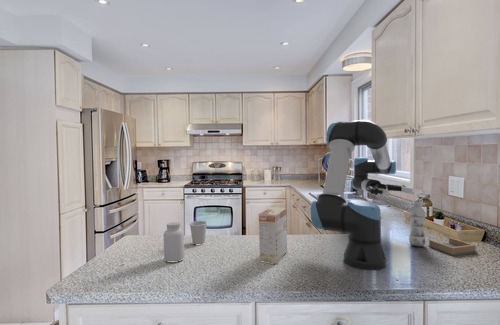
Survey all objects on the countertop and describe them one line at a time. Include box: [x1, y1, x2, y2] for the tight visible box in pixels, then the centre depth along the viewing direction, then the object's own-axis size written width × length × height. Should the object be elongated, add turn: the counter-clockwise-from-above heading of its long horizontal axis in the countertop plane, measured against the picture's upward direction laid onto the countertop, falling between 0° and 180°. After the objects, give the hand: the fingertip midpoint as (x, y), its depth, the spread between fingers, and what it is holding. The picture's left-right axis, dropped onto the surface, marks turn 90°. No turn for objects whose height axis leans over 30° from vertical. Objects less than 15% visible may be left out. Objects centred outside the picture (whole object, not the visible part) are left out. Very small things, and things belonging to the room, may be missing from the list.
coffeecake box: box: [258, 206, 288, 265], centre depth 114 cm, size 15×7×20 cm, turn 154°
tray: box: [428, 237, 478, 257], centre depth 119 cm, size 12×12×3 cm
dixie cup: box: [189, 220, 208, 245], centre depth 134 cm, size 8×8×10 cm
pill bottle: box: [163, 221, 185, 261], centre depth 113 cm, size 8×8×15 cm
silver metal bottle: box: [408, 200, 427, 247], centre depth 124 cm, size 6×7×20 cm
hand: (400, 192), depth 133 cm, fingers open, 13 cm apart
